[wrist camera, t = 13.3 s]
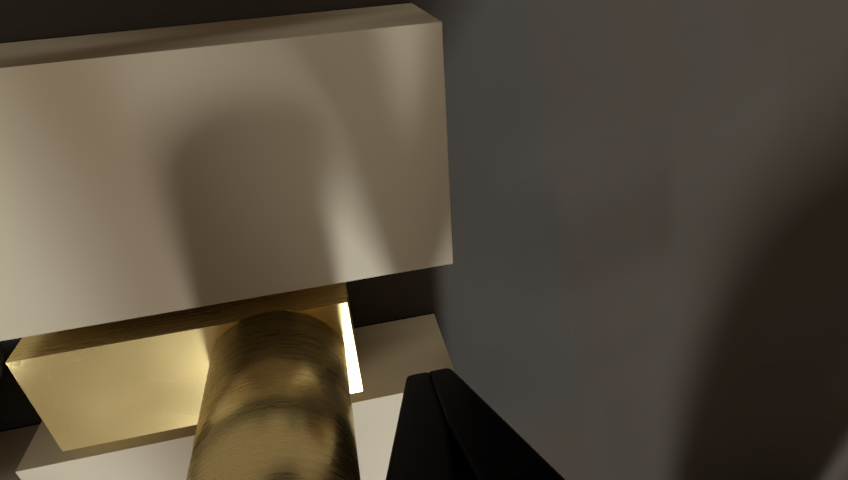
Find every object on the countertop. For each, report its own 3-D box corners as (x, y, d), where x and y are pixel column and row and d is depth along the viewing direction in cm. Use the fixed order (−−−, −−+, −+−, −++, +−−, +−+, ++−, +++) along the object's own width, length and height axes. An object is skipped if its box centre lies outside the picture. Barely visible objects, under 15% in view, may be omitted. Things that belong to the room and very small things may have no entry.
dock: (411, 3, 10) (442, 21, 8) (442, 425, 16) (463, 498, 14) (-731, 115, 8) (-1119, 185, 6) (-186, 560, 14) (-273, 673, 12)
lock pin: (337, 234, 12) (368, 457, 7) (353, 321, 13) (387, 563, 8) (57, 278, 11) (-145, 570, 6) (103, 367, 13) (-30, 667, 7)
